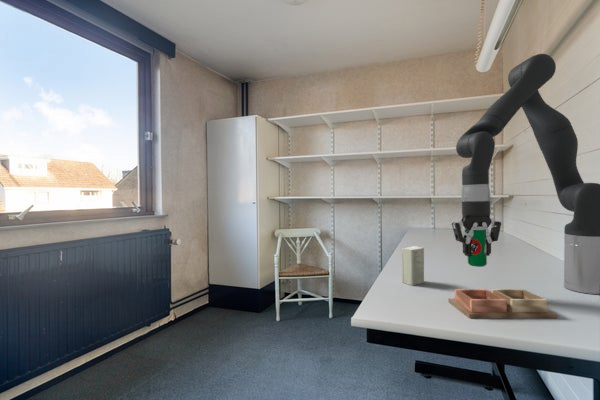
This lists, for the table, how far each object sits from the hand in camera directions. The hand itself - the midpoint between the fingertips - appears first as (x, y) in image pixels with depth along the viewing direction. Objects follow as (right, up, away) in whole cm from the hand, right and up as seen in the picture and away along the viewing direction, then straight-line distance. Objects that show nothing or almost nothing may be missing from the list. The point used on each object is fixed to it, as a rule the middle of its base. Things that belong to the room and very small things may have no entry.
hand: (476, 255), depth 92 cm
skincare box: (-15, -12, +12) cm, 22 cm away
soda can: (0, -3, 0) cm, 3 cm away
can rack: (-1, -12, -12) cm, 17 cm away
